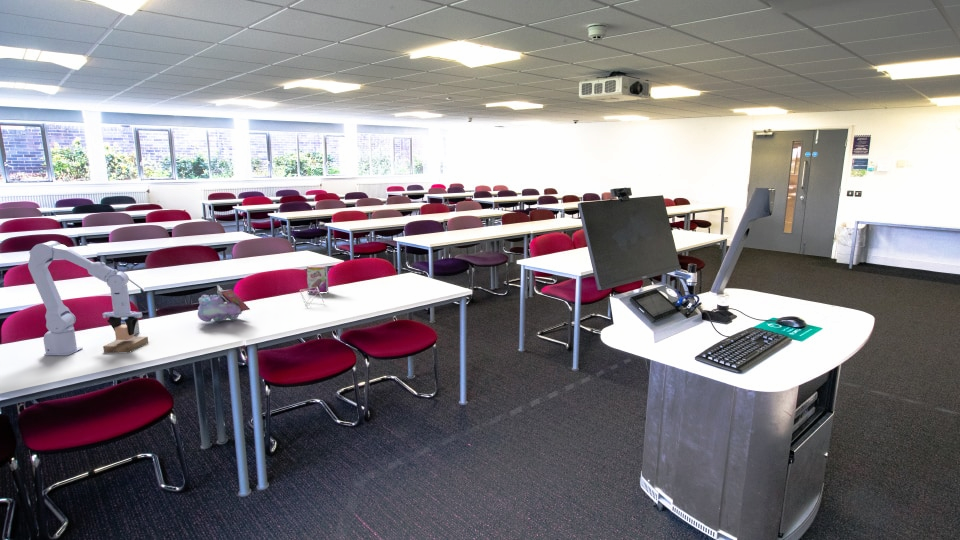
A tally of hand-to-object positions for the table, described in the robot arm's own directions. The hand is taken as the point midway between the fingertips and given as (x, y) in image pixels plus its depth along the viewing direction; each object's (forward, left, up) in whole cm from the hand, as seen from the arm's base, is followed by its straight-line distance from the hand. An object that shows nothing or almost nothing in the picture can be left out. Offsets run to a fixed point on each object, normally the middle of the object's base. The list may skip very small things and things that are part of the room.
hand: (125, 334), depth 207 cm
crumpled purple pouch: (+23, +35, -6) cm, 42 cm away
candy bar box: (+50, +95, -6) cm, 108 cm away
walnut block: (0, 0, -6) cm, 6 cm away
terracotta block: (0, 0, -1) cm, 1 cm away
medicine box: (-9, +15, -6) cm, 18 cm away
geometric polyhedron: (+55, +68, -6) cm, 88 cm away
